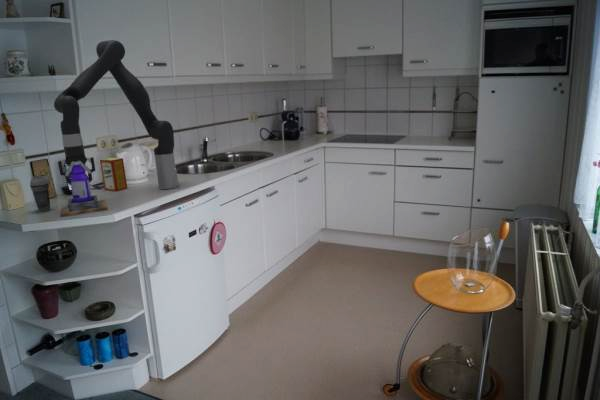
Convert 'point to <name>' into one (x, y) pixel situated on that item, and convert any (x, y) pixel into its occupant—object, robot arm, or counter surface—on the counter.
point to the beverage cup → (41, 192)
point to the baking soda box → (113, 174)
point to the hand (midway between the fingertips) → (80, 183)
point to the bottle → (80, 184)
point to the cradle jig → (83, 207)
